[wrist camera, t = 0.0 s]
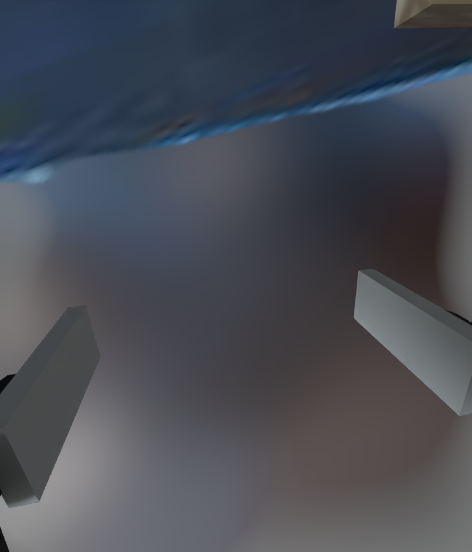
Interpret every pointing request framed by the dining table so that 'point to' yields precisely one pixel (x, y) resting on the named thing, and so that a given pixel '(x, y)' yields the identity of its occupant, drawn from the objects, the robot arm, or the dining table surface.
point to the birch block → (433, 13)
